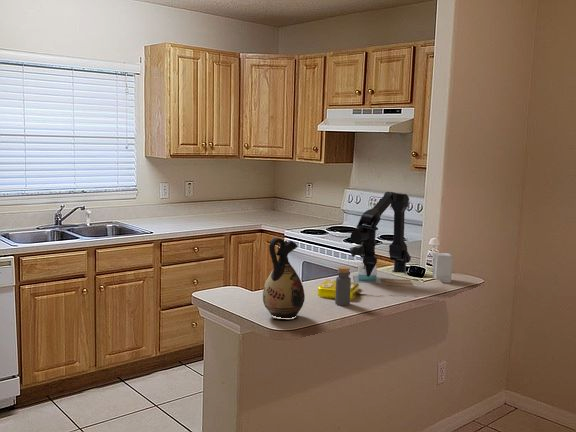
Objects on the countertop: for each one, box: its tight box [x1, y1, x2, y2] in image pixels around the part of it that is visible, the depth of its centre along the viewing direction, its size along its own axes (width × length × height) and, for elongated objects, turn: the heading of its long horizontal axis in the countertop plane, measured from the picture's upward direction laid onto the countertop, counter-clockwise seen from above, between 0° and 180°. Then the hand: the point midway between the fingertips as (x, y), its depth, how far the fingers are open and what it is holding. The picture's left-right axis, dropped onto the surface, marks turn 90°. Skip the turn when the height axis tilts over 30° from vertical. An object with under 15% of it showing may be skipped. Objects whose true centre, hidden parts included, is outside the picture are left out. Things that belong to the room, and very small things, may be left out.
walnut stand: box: [383, 278, 415, 288], centre depth 266 cm, size 12×12×2 cm
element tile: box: [317, 279, 360, 301], centre depth 250 cm, size 15×15×5 cm
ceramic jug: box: [262, 237, 306, 318], centre depth 216 cm, size 17×15×30 cm
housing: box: [357, 265, 378, 281], centre depth 270 cm, size 8×5×6 cm, turn 87°
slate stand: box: [352, 275, 382, 284], centre depth 271 cm, size 12×12×2 cm
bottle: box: [334, 265, 352, 307], centre depth 236 cm, size 6×6×15 cm
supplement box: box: [432, 252, 454, 284], centre depth 278 cm, size 7×7×13 cm
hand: (367, 273), depth 270 cm, fingers open, 9 cm apart
